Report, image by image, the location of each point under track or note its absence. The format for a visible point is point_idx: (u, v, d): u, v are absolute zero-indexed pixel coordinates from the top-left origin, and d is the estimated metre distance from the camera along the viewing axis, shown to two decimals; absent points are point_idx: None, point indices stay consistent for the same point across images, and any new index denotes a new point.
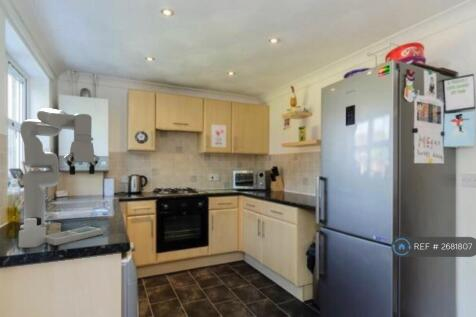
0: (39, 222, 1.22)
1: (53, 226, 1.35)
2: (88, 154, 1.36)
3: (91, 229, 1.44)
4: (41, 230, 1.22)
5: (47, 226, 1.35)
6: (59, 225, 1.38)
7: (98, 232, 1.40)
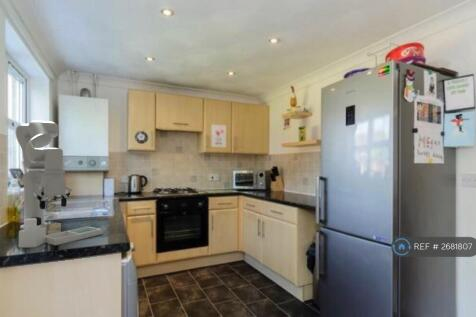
0: (39, 222, 1.22)
1: (53, 226, 1.35)
2: (59, 187, 1.38)
3: (91, 229, 1.44)
4: (41, 230, 1.22)
5: (47, 226, 1.35)
6: (59, 225, 1.38)
7: (98, 232, 1.40)
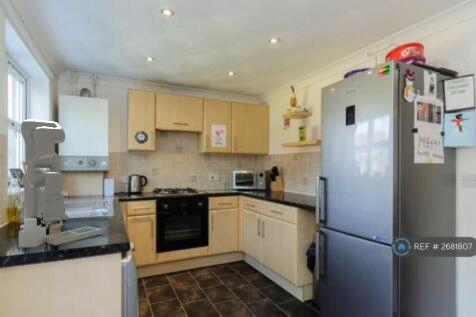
0: (39, 222, 1.22)
1: (53, 226, 1.35)
2: (59, 212, 1.38)
3: (91, 229, 1.44)
4: (41, 230, 1.22)
5: None
6: (59, 225, 1.38)
7: (98, 232, 1.40)
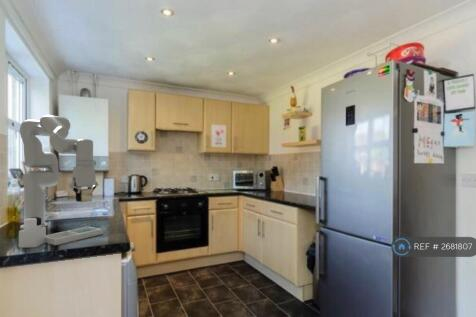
0: (39, 222, 1.22)
1: (85, 191, 1.37)
2: (90, 178, 1.40)
3: (91, 229, 1.44)
4: (41, 230, 1.22)
5: None
6: (90, 190, 1.40)
7: (98, 232, 1.40)
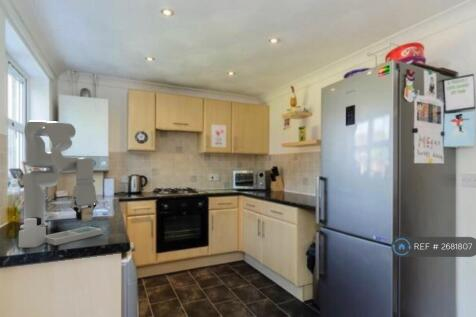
0: (39, 222, 1.22)
1: (85, 210, 1.37)
2: (90, 197, 1.39)
3: (91, 229, 1.44)
4: (41, 230, 1.22)
5: None
6: (91, 209, 1.39)
7: (98, 232, 1.40)
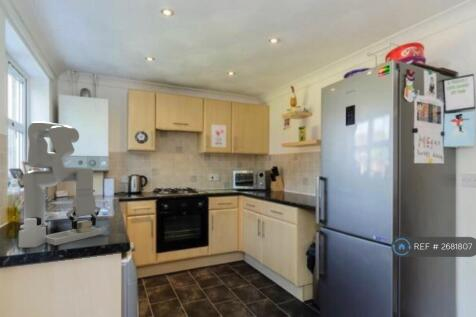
0: (39, 222, 1.22)
1: (85, 224, 1.37)
2: (90, 207, 1.39)
3: None
4: (41, 230, 1.22)
5: (79, 224, 1.37)
6: (90, 223, 1.39)
7: (98, 232, 1.40)
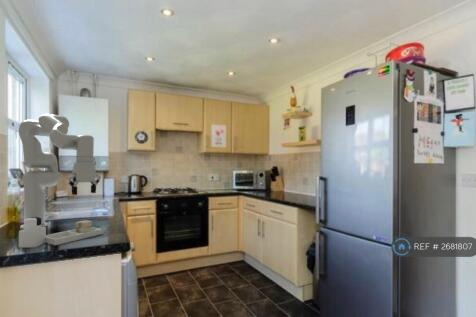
0: (39, 222, 1.22)
1: (85, 224, 1.37)
2: (90, 174, 1.40)
3: None
4: (41, 230, 1.22)
5: (79, 224, 1.37)
6: (90, 223, 1.39)
7: (98, 232, 1.40)
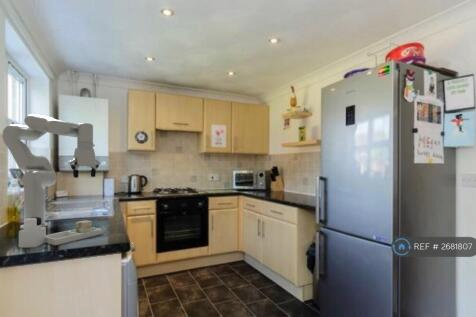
0: (39, 222, 1.22)
1: (85, 224, 1.37)
2: (90, 159, 1.52)
3: None
4: (41, 230, 1.22)
5: (79, 224, 1.37)
6: (90, 223, 1.39)
7: (98, 232, 1.40)
